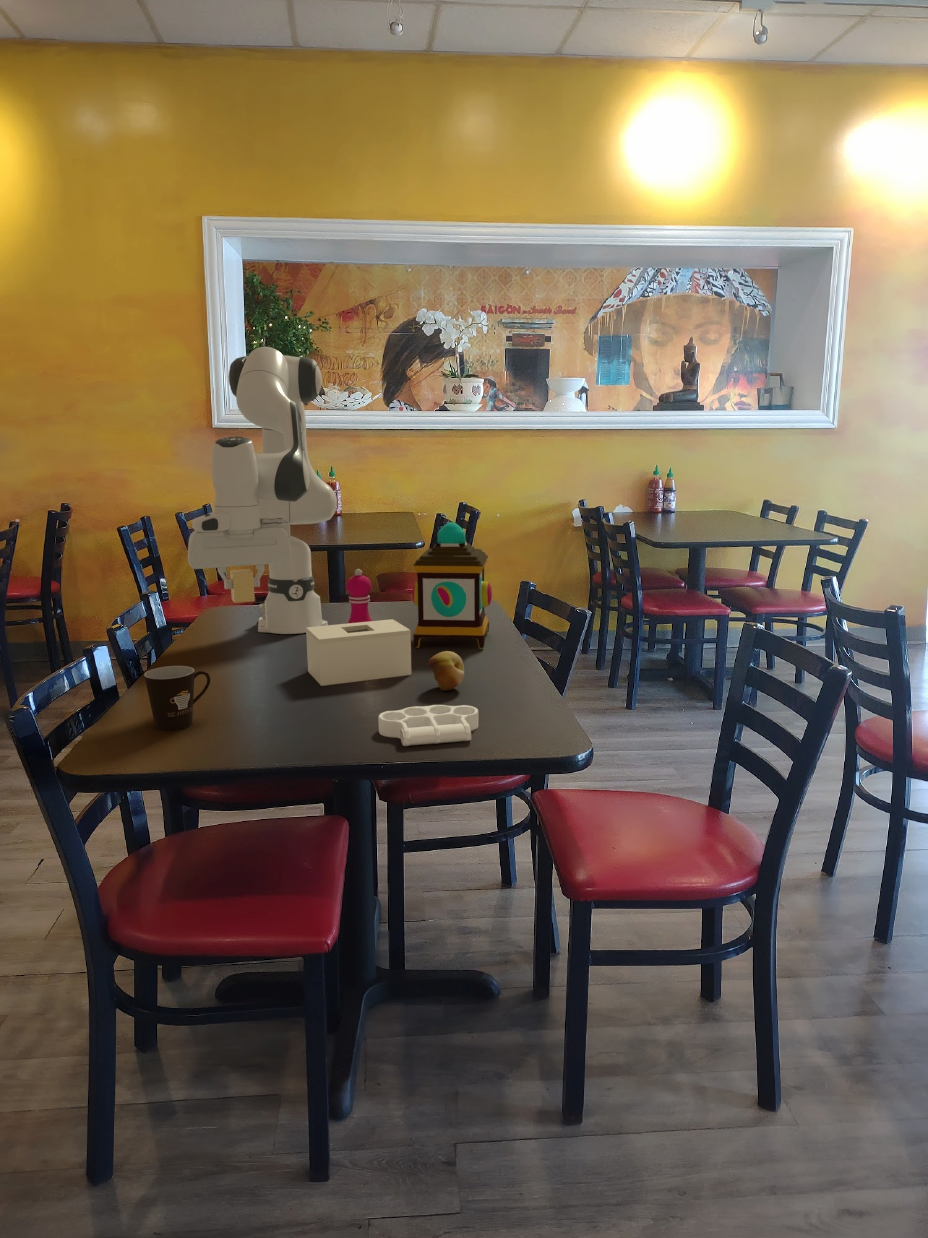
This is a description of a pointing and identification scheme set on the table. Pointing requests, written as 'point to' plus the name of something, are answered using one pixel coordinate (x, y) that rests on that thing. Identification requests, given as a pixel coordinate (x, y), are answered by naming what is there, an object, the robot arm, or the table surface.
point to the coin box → (358, 651)
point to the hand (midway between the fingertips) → (242, 587)
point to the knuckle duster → (429, 724)
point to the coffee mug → (172, 696)
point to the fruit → (447, 669)
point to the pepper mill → (359, 597)
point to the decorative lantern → (451, 589)
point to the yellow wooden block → (242, 586)
